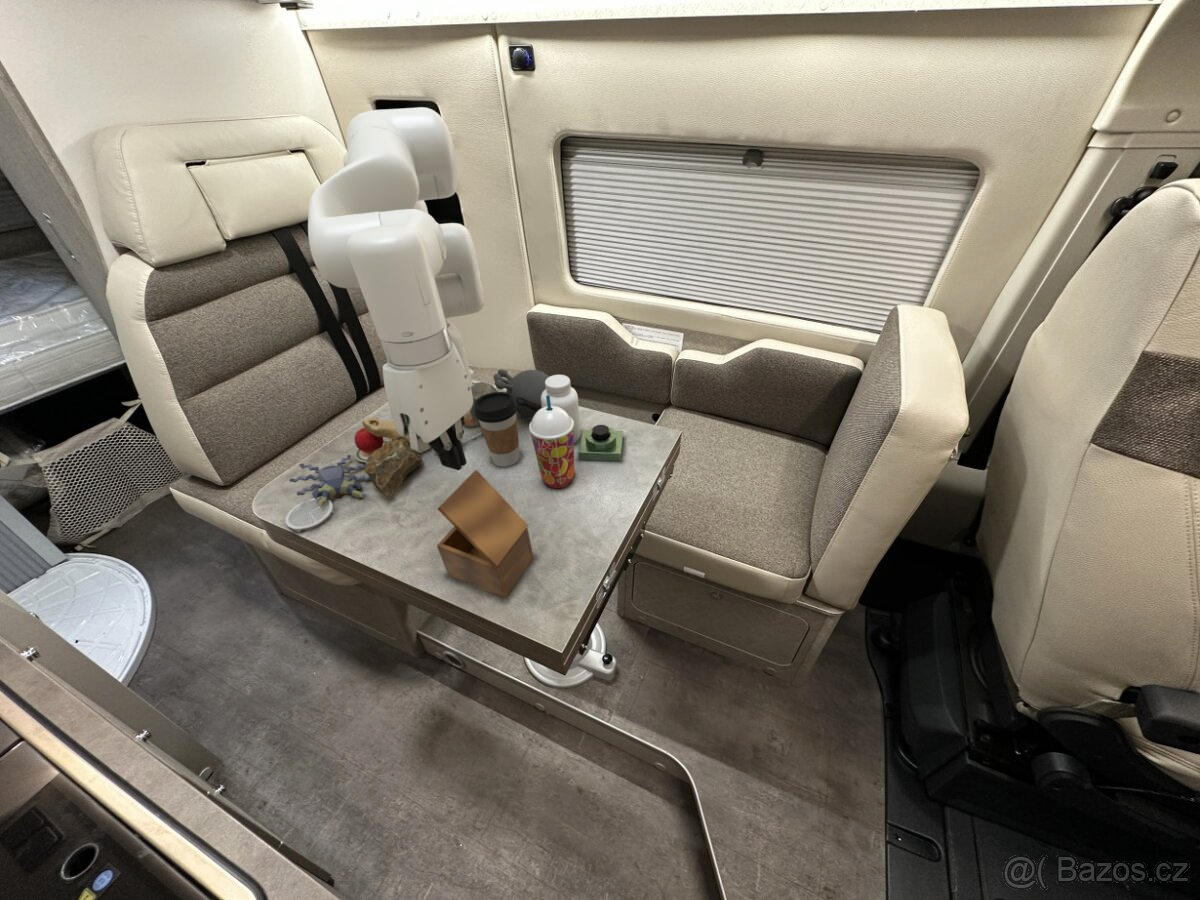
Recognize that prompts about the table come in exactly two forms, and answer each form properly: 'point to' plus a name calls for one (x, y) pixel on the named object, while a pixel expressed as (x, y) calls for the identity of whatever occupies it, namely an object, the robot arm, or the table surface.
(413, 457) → the rock
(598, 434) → the button
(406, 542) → the table surface
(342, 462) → the toy
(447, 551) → the box
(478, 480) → the lid
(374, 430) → the oil lamp
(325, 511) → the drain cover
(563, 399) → the pill bottle
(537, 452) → the smoothie
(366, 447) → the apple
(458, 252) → the robot arm
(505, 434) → the coffee cup
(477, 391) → the stone
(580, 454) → the button housing
